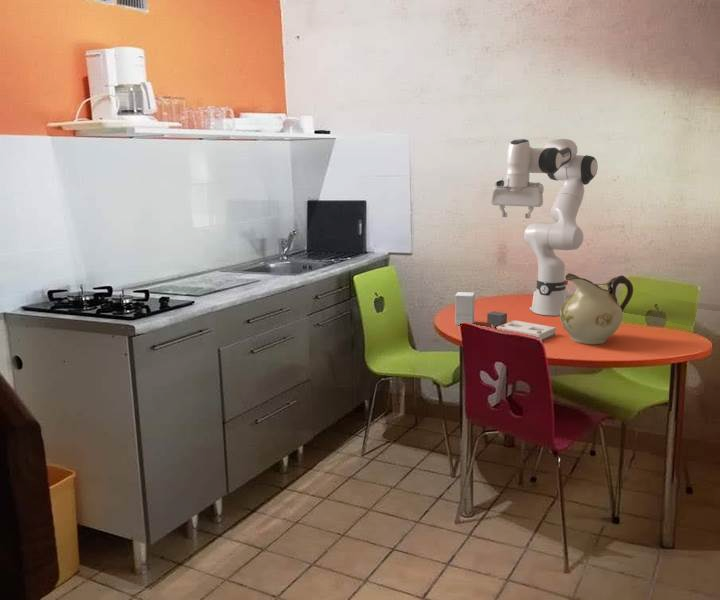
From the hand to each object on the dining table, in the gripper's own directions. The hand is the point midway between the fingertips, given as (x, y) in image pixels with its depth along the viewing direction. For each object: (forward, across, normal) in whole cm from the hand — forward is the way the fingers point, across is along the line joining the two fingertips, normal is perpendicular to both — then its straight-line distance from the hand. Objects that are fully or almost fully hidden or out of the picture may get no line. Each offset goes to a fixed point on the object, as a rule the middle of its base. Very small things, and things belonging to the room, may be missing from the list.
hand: (516, 217), depth 278 cm
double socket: (+44, -9, +10) cm, 46 cm away
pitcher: (+44, -32, +5) cm, 55 cm away
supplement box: (+44, +18, +5) cm, 48 cm away
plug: (+44, +4, +6) cm, 45 cm away
